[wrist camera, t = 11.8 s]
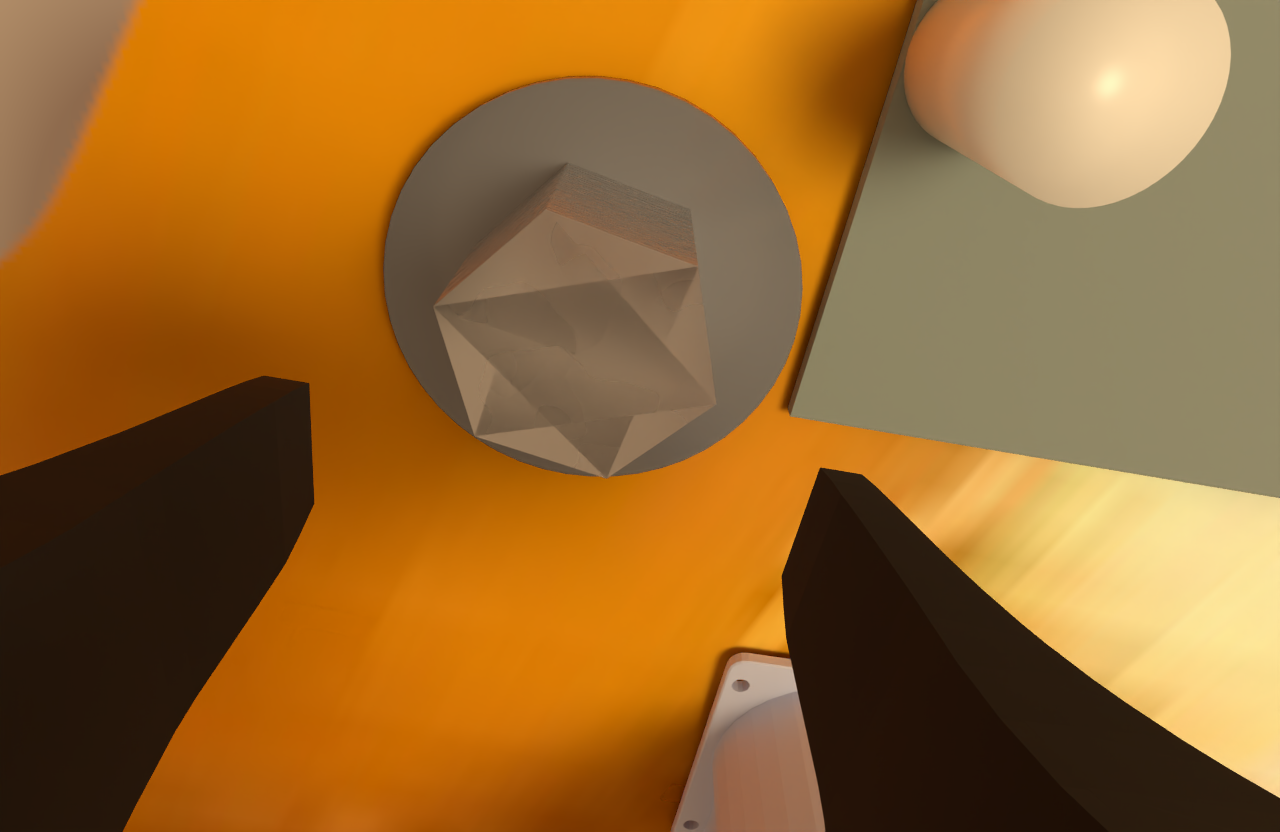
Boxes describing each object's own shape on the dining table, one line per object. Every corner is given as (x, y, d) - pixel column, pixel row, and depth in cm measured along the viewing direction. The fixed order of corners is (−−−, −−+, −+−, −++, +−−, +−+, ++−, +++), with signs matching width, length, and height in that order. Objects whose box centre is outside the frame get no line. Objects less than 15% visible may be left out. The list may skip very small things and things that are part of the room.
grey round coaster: (742, 488, 20) (744, 502, 19) (389, 431, 19) (381, 444, 18) (852, 123, 15) (858, 128, 15) (395, 34, 14) (385, 36, 14)
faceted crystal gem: (749, 231, 16) (770, 294, 13) (667, 409, 18) (669, 499, 15) (505, 137, 15) (465, 179, 12) (450, 335, 17) (405, 414, 14)
